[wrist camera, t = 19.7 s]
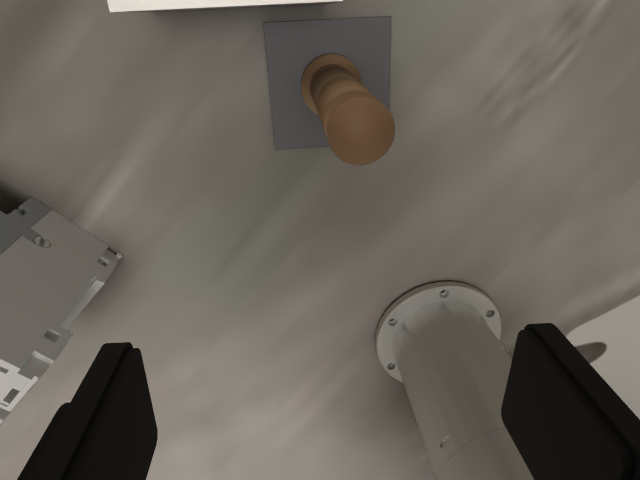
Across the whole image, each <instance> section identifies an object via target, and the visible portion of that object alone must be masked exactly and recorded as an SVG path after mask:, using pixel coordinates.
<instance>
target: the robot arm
mask: <svg viewBox="0 0 640 480" xmlns="http://www.w3.org/2000/svg"><path fill="white" fill-rule="evenodd" d="M501 332H502V323H501V318H500V314H499V312H498V310H497V308H496V306H495V305H494V304H493V302H492V301H491V300H490V298H489V297H488V296H487V295H485V294H484V293H483V292H482V291H480V290H479V289H477V288H475V287H474V286H471V285H468V284H464V283H459V282H452V281H449V282H436V283H431V284H426V285H423V286H421V287H418V288H415V289H413V290H411V291H410V292H408V293H406V294H404V295H403V296H401V297H400V298H399V299H398V300H396V301H395V302H394V303H393V304H392V305H391V306H390V307H389V308H388V309H387V311H386V312H385V313H384V315H383V317H382V318H381V320H380V322H379V324H378V327H377V330H376V336H375V346H376V352H377V355H378V359H379V361H380V363H381V365H382V367H383V368H384V369H385V371H386V372H387V373H388V374H389V375H390V376H392V377H393V378H394V379H396V380H397V381H399V382H402V383H403V384H404V387H405V389H406V392H407V395H408V398H409V401H410V404H411V407H412V410H413V413H414V416H415V419H416V422H417V425H418V427H419V430H420V433H421V436H422V439H423V442H424V445H425V448H426V451H427V454H428V457H429V460H430V463H431V465H432V468H433V471H434V474H435V477H436V480H640V420H639V419H638V417H637V416H636V415H635V414H634V413H633V412H632V411H631V410H630V408H628V406H627V405H626V404H625V403H624V402H623V401H622V400H621V398H620V397H619V396H618V395H617V394H616V393H615V392H614V391H613V390H612V388H611V387H610V386H609V385H608V384H607V383H606V382H605V381H604V380H603V379H602V377H600V375H599V374H598V373H597V372H596V371H595V369H594V368H593V367H592V366H591V365H590V364H589V363H588V362H587V361H586V359H585V358H584V357H583V356H582V355H581V354H580V353H579V352H578V351H577V349H576V348H575V347H574V346H573V345H572V344H571V343H570V342H569V341H568V339H567V338H566V337H565V336H564V335H563V334H562V333H561V332H560V330H559V329H558V328H557V327H556V326H555V325H554V324H551V323H542V324H528V325H526V327H525V329H524V330H521V331H520V332H519V334H518V337H517V341H516V346H515V350H514V354H513V359H511V358H510V356H509V355H508V354H507V352H506V351H505V349H504V348H503V346H502V345H501V343H500V342H499V341H500V337H501ZM156 443H157V426H156V421H155V416H154V412H153V407H152V402H151V398H150V393H149V388H148V384H147V379H146V374H145V369H144V365H143V360H142V355H141V352H140V349H139V348H133V346H132V344H131V343H129V342H126V343H106V344H104V345H103V346H102V347H101V349H100V351H99V352H98V354H97V356H96V358H95V360H94V361H93V363H92V365H91V367H90V369H89V370H88V372H87V374H86V376H85V377H84V379H83V381H82V383H81V385H80V386H79V388H78V390H77V392H76V394H75V395H74V397H73V399H72V401H71V402H70V403H65V404H63V405H62V406H61V407H60V408H59V409H58V411H57V412H56V414H55V416H54V417H53V419H52V421H51V422H50V424H49V426H48V428H47V429H46V431H45V433H44V434H43V436H42V438H41V440H40V441H39V443H38V445H37V446H36V448H35V450H34V452H33V453H32V455H31V457H30V458H29V460H28V462H27V464H26V465H25V467H24V469H23V470H22V472H21V474H20V476H19V477H18V479H17V480H146V477H147V474H148V470H149V467H150V464H151V460H152V457H153V454H154V450H155V447H156Z"/></svg>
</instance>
